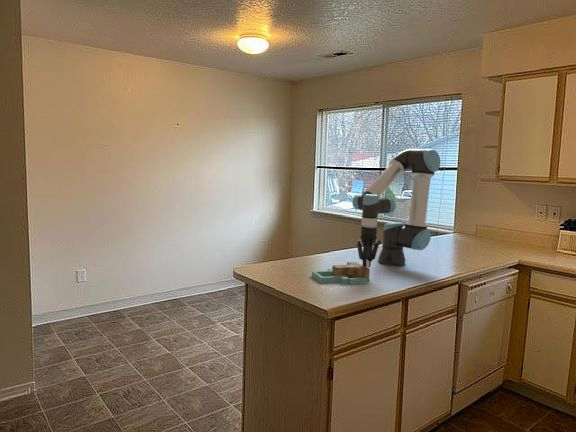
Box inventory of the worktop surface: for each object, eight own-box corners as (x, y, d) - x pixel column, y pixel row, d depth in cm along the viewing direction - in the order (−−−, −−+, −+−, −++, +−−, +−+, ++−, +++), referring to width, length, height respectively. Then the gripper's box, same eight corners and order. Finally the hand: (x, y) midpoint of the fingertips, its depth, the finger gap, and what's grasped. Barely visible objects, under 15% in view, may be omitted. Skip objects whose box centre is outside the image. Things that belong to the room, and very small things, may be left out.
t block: (355, 273, 218) (356, 261, 217) (368, 281, 204) (369, 269, 204) (328, 274, 213) (328, 263, 212) (340, 282, 200) (341, 270, 199)
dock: (347, 271, 220) (347, 267, 220) (367, 283, 200) (367, 278, 200) (308, 273, 213) (308, 268, 213) (324, 286, 194) (325, 280, 193)
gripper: (377, 225, 214) (373, 271, 217) (353, 225, 210) (350, 272, 213) (384, 227, 207) (381, 275, 210) (360, 227, 203) (357, 276, 206)
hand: (365, 273), depth 211 cm, fingers closed
